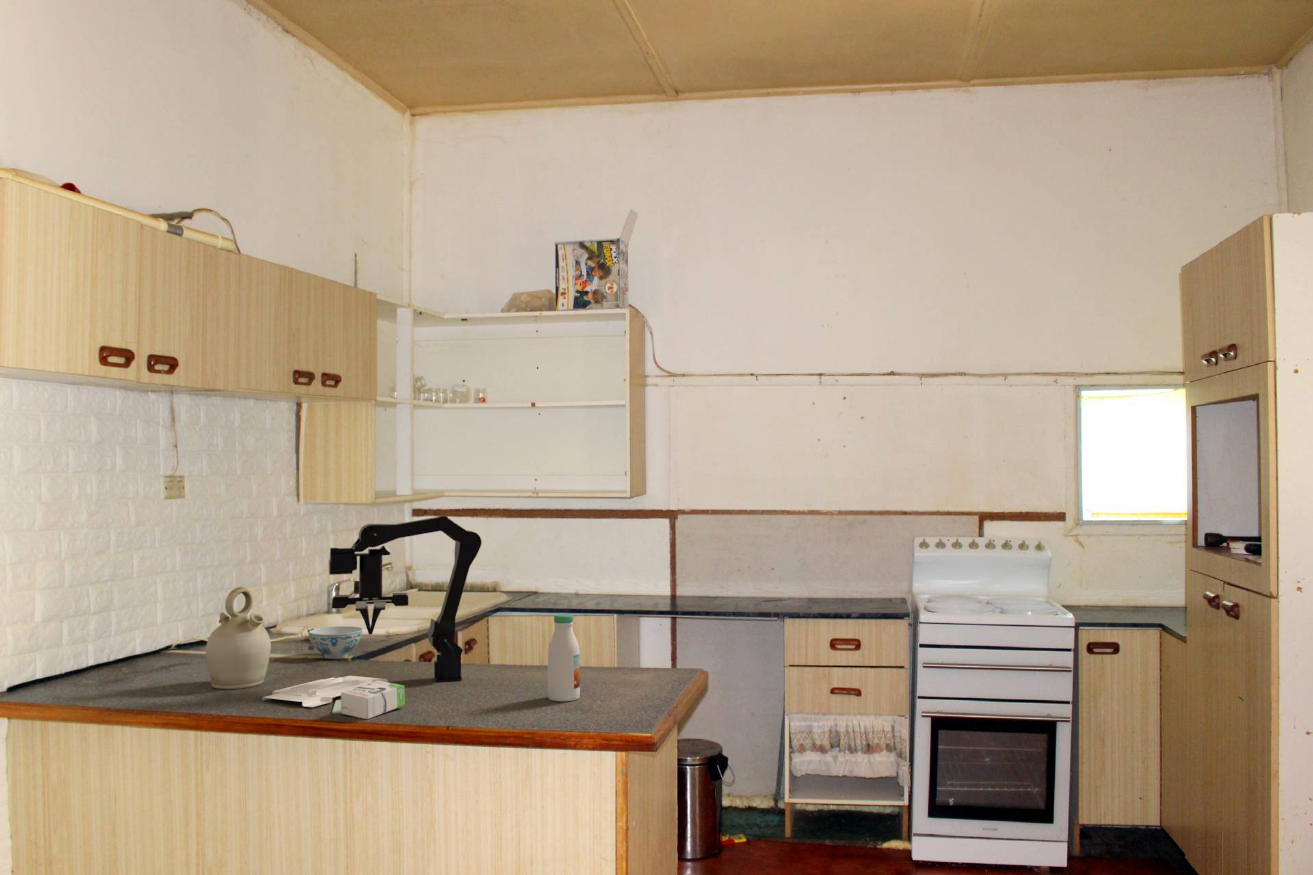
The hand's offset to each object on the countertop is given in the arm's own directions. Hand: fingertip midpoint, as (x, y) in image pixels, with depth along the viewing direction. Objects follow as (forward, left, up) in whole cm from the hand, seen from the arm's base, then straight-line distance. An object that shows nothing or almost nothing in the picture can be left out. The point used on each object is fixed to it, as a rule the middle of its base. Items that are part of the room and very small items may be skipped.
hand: (370, 634), depth 253 cm
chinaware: (+11, -44, -13) cm, 48 cm away
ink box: (-6, +24, -10) cm, 27 cm away
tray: (+10, +5, -13) cm, 17 cm away
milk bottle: (-46, +27, -13) cm, 55 cm away
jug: (+33, -11, -13) cm, 37 cm away
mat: (+1, +22, -13) cm, 26 cm away
